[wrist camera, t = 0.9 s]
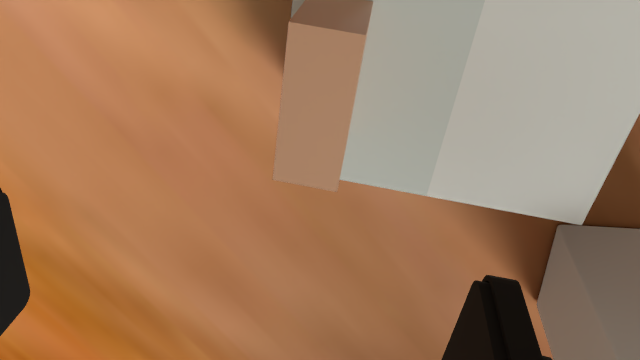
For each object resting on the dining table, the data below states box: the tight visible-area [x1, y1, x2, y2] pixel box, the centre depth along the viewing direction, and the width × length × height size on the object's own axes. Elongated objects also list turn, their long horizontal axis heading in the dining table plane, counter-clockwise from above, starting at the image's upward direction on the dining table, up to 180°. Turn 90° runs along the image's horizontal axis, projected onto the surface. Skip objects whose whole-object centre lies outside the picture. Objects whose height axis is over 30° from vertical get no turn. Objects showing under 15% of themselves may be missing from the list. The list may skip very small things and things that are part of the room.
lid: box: [273, 0, 640, 225], centre depth 20 cm, size 15×11×7 cm
